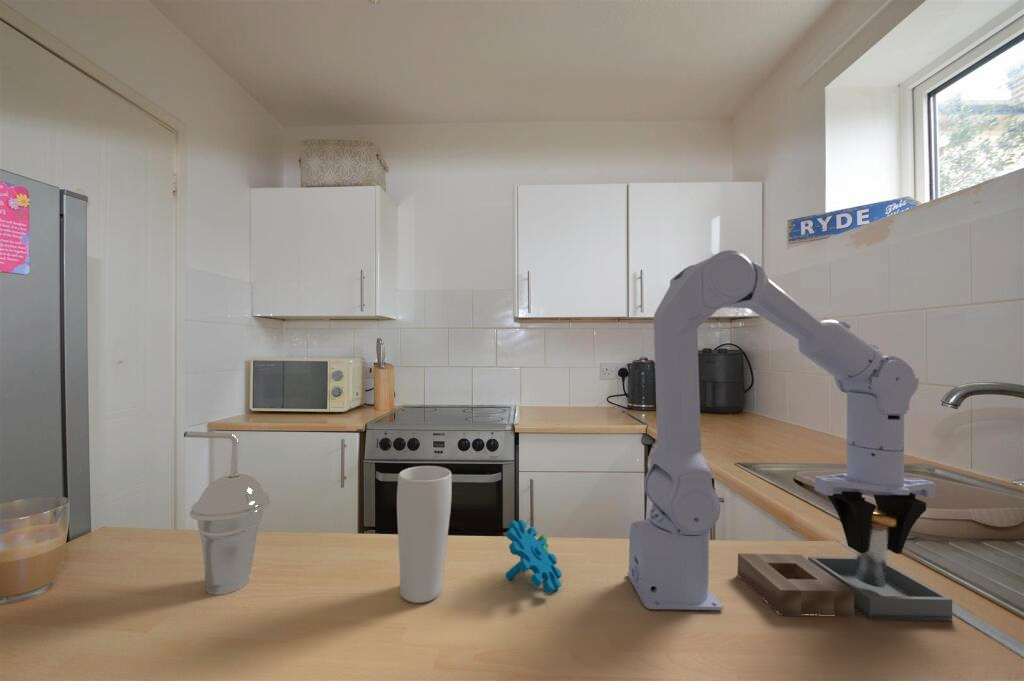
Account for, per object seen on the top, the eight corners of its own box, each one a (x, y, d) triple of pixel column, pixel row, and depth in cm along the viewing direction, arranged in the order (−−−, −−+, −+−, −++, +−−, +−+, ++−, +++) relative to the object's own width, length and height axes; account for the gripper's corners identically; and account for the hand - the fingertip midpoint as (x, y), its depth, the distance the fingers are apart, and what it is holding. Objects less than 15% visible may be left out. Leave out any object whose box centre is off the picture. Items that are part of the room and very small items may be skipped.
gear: (554, 599, 49) (503, 526, 52) (518, 629, 49) (470, 554, 53) (573, 568, 59) (529, 508, 62) (543, 593, 60) (502, 532, 63)
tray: (870, 619, 49) (870, 598, 49) (808, 574, 59) (808, 556, 59) (952, 620, 49) (952, 599, 49) (876, 575, 59) (876, 557, 59)
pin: (868, 589, 52) (873, 517, 52) (839, 570, 56) (844, 504, 57) (902, 592, 52) (907, 520, 52) (871, 573, 56) (875, 507, 57)
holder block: (780, 615, 49) (780, 590, 49) (737, 574, 58) (737, 553, 58) (854, 616, 50) (854, 591, 50) (800, 575, 59) (800, 554, 59)
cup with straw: (256, 598, 50) (264, 432, 50) (166, 611, 47) (175, 434, 48) (274, 563, 58) (280, 420, 58) (197, 572, 55) (205, 422, 56)
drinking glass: (458, 586, 54) (462, 470, 54) (427, 616, 48) (431, 484, 48) (416, 573, 56) (420, 462, 57) (381, 599, 50) (386, 475, 51)
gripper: (845, 452, 51) (844, 564, 50) (961, 455, 51) (961, 566, 50) (803, 439, 58) (802, 538, 57) (905, 442, 58) (905, 540, 58)
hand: (873, 549), depth 54 cm, fingers closed on pin, 4 cm apart
